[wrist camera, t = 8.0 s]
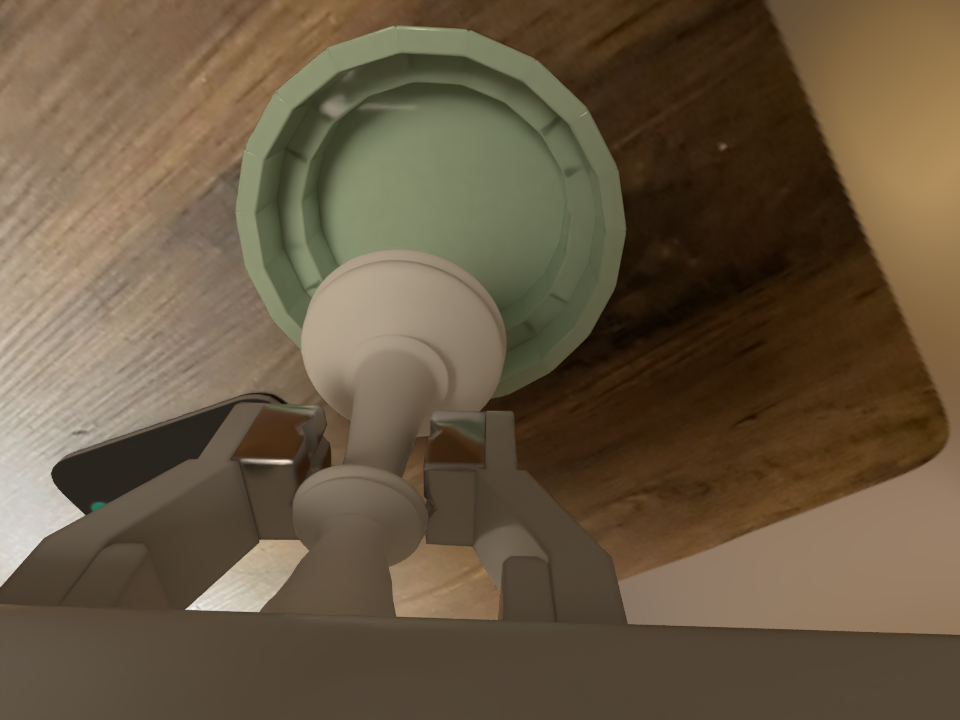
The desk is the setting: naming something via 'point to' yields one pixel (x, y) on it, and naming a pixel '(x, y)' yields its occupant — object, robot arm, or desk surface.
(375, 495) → the chess piece
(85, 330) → the desk surface
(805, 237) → the desk surface
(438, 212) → the bowl
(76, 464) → the smartphone
